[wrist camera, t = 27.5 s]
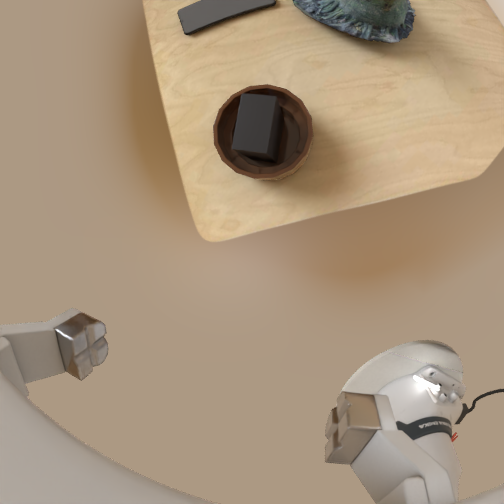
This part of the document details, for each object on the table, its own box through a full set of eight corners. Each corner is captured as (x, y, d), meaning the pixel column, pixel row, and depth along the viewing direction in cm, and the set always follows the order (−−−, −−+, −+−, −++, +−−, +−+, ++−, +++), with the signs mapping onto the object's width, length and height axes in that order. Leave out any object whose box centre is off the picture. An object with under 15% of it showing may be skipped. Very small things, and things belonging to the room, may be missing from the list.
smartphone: (276, 2, 27) (184, 34, 30) (277, 5, 28) (186, 37, 31) (262, -21, 26) (176, 10, 29) (262, -18, 27) (178, 13, 30)
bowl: (322, 115, 31) (324, 100, 25) (295, 192, 34) (293, 192, 28) (243, 92, 32) (231, 76, 26) (217, 166, 35) (200, 161, 29)
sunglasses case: (284, 119, 32) (276, 96, 23) (277, 163, 33) (266, 153, 24) (257, 115, 32) (241, 93, 24) (250, 159, 34) (231, 149, 25)
